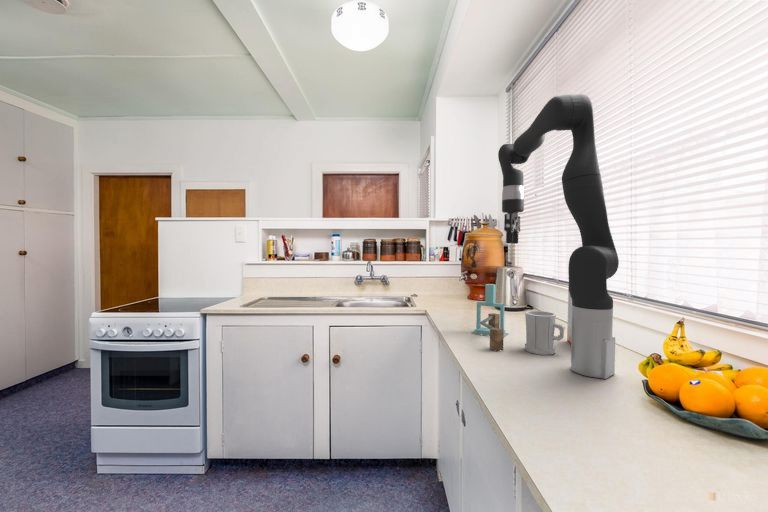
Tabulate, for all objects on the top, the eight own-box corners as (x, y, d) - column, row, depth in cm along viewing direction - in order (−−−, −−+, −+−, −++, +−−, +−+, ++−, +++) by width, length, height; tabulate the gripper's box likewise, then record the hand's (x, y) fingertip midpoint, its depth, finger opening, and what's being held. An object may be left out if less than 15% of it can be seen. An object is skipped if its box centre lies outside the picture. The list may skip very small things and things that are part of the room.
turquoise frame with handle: (501, 336, 128) (502, 285, 127) (474, 332, 133) (475, 284, 132) (505, 333, 132) (505, 284, 131) (478, 330, 137) (479, 283, 137)
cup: (554, 347, 115) (555, 311, 114) (566, 356, 106) (566, 316, 105) (521, 346, 116) (521, 310, 115) (529, 355, 107) (530, 315, 106)
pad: (503, 338, 126) (503, 337, 126) (471, 333, 133) (471, 332, 133) (508, 334, 132) (508, 333, 132) (477, 329, 139) (477, 329, 139)
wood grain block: (499, 330, 139) (499, 313, 138) (503, 352, 110) (504, 331, 109) (488, 329, 140) (488, 312, 139) (489, 350, 111) (489, 330, 111)
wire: (495, 316, 137) (495, 314, 137) (498, 332, 112) (498, 330, 112) (480, 315, 139) (480, 313, 139) (480, 331, 113) (480, 328, 113)
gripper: (519, 196, 121) (518, 243, 121) (527, 200, 133) (526, 243, 133) (497, 197, 125) (496, 243, 125) (507, 202, 137) (506, 243, 137)
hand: (512, 243), depth 129 cm, fingers open, 8 cm apart
